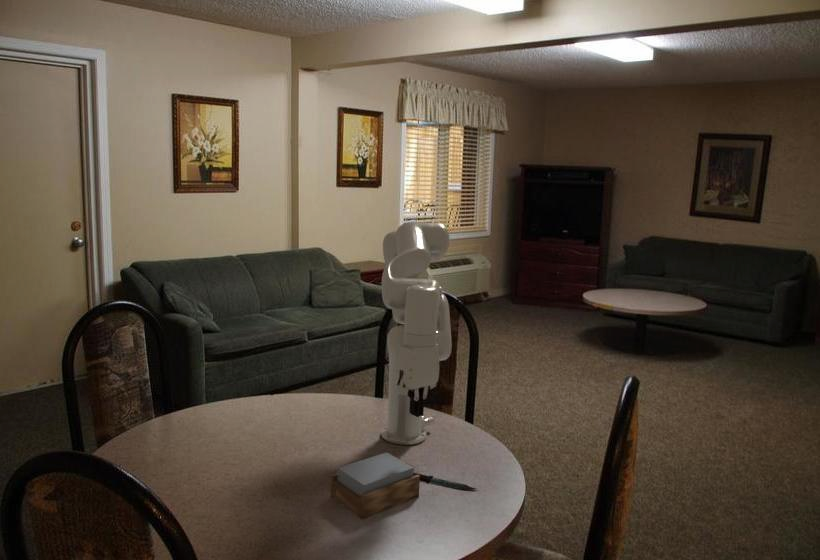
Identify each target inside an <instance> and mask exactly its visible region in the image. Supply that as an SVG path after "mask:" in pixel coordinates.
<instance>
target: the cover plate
mask: <svg viewBox="0 0 820 560" xmlns="http://www.w3.org/2000/svg"><path fill="white" fill-rule="evenodd" d="M337 473H338V481H339V482H340V483H342V484H343V485H345V486H346V487H348V488H349V489H351V490H352V491H354V492H355V493H356V494H358V495H359V496H361V495H362V494H365V493H368V492H371V491H373V490H376V489H379V488H382V487H384V486H387V485H390V484H393V483H396V482H398V481H401V480H404V479H407V478H409V477H412V476H413V473H415V472H414V467H413V466H412V465H410V464H408V463H406V462H404V461H403V460H401V459H399V458H398V457H396V456H394V455H392V454H390V453H389V452H384V453H381V454H380V453H379V454H378V455H374V456H371V457H369V458H365V459H362V460H358V461H355V462H352V463H350V464H346V465H343V466H340V467H338V468H337Z"/></svg>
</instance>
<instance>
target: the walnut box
mask: <svg viewBox="0 0 820 560" xmlns="http://www.w3.org/2000/svg"><path fill="white" fill-rule="evenodd" d="M420 482H421V481H420V476H419V475H415V476H412V477H409V478H407V479H404V480H401V481H398V482H396V483H393V484H390V485H387V486H384V487H382V488H379V489H376V490H373V491H371V492H368V493H365V494H362V495H361V496H359V495H358V494H356V493H355V492H354V491H352V490H351V489H349V488H348V487H346V486H345V485H343V484H342V483H340V482H339V481H338V472H335V473H333V474H331V475H330V497H331V498H332V499H333V500H335V501H336V500H337V502H338V503H339V502H340V503H339V504H341V505H342V504H343V505H344V506H343V505H342V506H343V507H345V508H346V507H347V508H348V510H349V511H350V512H351V511H352V512H351V513H353V514H354V515H355V516H357V517H358V518H359V519H361V520H365V519H366V518H370V517H372V516H374V515H376V514H379V513H382V512H385V511H387V510H390V509H392V508H394V507H398V506H399V505H403V504H405V503H407V502H410V501H413V500H415V499H417V498H419V497H420ZM347 508H346V509H347Z"/></svg>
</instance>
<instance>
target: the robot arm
mask: <svg viewBox="0 0 820 560" xmlns="http://www.w3.org/2000/svg"><path fill="white" fill-rule="evenodd" d="M449 247H450V232H449V230H448V228H447V227H446V225H444V224H443V223H441V222H428V221H427V222H425V221H424V222H423V221H422V222H421V221H409V222H407V221H406V222H405V223H402V224H401V225H400V226H398V227H397V229H396V230H394V231H391V232H388V233H387V234H386V235H385V236H384V238H383V239H382V253H383V255H382V256H383V260H384V263H385V266H384V269H383V272H382V275H381V297H382V301H383V302H382V303H383V304H384V306H385V307H386V308H388V309H390V310H391V311H392V318H393V320H394V321H395V322H396V323H397V324H401V325H397V326H394V327H392V328H391V329H390V330H389V331H388V334H387V339H386V341H387V342H386V343H387V344H386V345H387V352H388V362H389V363H388V364H389V365H388V367H389V368H388V369H389V370H388V373H389V374H388V395H387V396H388V401H387V421H386V423H387V425H386V426H384V427H382V429H381V432H380V433H381V434H380V435H381V437H382V438H383V440H385V441H386V442H389V443H391V444H394V445H403V446H404V445H405V446H409V445H417V444H420V443H422V442H424V441H425V440H426V439H427V431H426V430H425V428H426V426H429V425H432V424H434V423H435V419H434V418H433V417H432V416H430V417H424V413H425V412H424V410H425V409H424V408H425V400H426V399H427V396H428V393H429V392H430V391H431V390H432V389H434V388H436V387H437V383H438V382H439V377H440V362H441V361H446V360H447V359H449V357H450V356H451V354H452V347H453V346H452V345H453V344H452V330H451V329H452V328H451V318H450V317H451V316H450V305H449V301H448V299H447V297H446V295H445V294H444V293H443V288H442V286H441V285H440V283H439V282H438V281H437V280H435V279H429V278H421V276H420V275H421V274H423V273H425V272H426V271H427V270H428V268H430V265H431V262H436V261H437V262H438V261H440V260H441V259H442V258H443V257H444V256H445V255H446V254H447V252H448V250H449Z"/></svg>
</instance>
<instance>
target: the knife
mask: <svg viewBox="0 0 820 560" xmlns="http://www.w3.org/2000/svg"><path fill="white" fill-rule="evenodd" d="M415 475H419V476H420V482H425V483H426V484H430V483H431V484H435V485H439V486H443V487H444V486H445V487H448V488H453V489H459V490H469V491H470V490H471V491H472V490H477V488H475V487H472V486H470V485H468V484H465V483H460V482H455V481H451V480H447V479H446V480H445V479H441V478H436V477H434V475H425V474H422V473H418V472H417V473H416V472H414V473H413V476H415Z"/></svg>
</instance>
